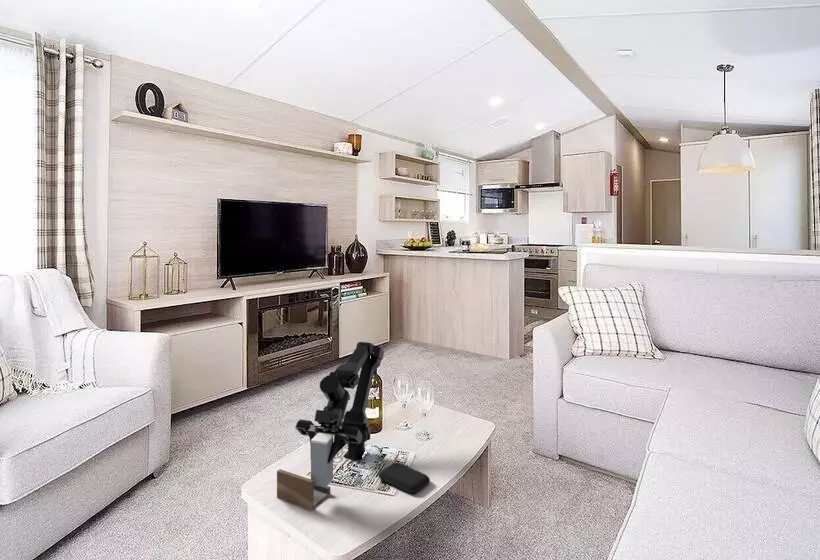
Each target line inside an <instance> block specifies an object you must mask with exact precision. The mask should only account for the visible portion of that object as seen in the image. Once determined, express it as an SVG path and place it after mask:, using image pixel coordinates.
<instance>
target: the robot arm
mask: <svg viewBox="0 0 820 560" xmlns="http://www.w3.org/2000/svg"><path fill="white" fill-rule="evenodd" d="M373 352H374V353H373ZM384 353H385V352H384V349H383V348H382V347H381V346H378V345H375V344H373V343H372V342H367V341H359V342H357V343H356V347H355V349H354V350H353V352H352V354H350V357H348V359H347V360H346V362H345V363H343V364H339V365H338V366H337V367H336V368H335V369H334V371H330V373H329V375H326V376H324V377H322V379H321V380H320V382H319V388H320V391H321V392H322V393H323V395H324V397H325V398H326V399H327V403H326V406H325V405H324V407H323V409H322V410H321V409H316V411H315V416H314V419H313V420H314V422H317V424H318V425H316V424H315V423H313V421H312V420H309V419H307V420H306V419H302V418H301V419H299V420H298V421H296V424H295V427H294V428H295V430H297V432H298V433H299V434H300V435H302V436H306V437H308V438H309V443H310V447H311V440H312V439H313V438H314V437H315V436H316V435H317V434H318V433H324V434H331V435H333V445H332V448H331V451H330V454H329V457H328V463H330V462H331V461H332V460H333V461H334V459H335V458H336V456H337V455H338V453H339V452H340V451H341V450H342V449H343V448H344V447H345V446H346V445H347V451H346V452H345V453H344V454H343V458H347V459H351V460H356V461H362V460H363V459H362V455H363V454H364V452H365V450H366V448H365V447H366V442H367V441H371V434H372V433H371V432H372V429H371V428H370V426H369V424H368V423H369V419H368V416H367V413H366V409H367V406H368V402H369V401H368V400H369V396H370V391H371V387H372V384H373V383H372V382H373V378H374V373H375V371H376V370H377V369H378V368H379V367H380V366H381V362H382V361H383V360H384V356H385V355H384ZM370 355H371V359H370ZM359 372H360V373H359ZM355 388H356V390H355V394H354V397H353V402H352V406H351V408H350V409H349V410H347V406H348V403H349V401H351V396H350V395H351V394H350V393H349V390H347V389H350V390H354V389H355ZM361 459H362V460H361Z"/></svg>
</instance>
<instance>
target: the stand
mask: <svg viewBox="0 0 820 560" xmlns="http://www.w3.org/2000/svg"><path fill="white" fill-rule="evenodd" d="M330 494H331V486H329V485H328V486H327V487H321V486H316V485H314V480H311V478H307V477H305V476H302V475H299V474H296V473H294V472H290V471H286V470H284V469H281V468H279V469H278V470H276V498H277V499H280V500H283V501H285V502H288V503H290V504H293V505H294V506H295V505H296V506H299V507H302V508H304V509H306V510H309V511H312V510H313V509H314V508H315V507H316V506H318V505H319V504H320V503H321V502H323V500H325V499H326V498H327V497H328V496H330Z"/></svg>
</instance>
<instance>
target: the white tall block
mask: <svg viewBox="0 0 820 560" xmlns="http://www.w3.org/2000/svg"><path fill="white" fill-rule="evenodd" d="M333 442H334V435H331V434H324V433H318V434H317V435H316V436H315V437H314V438H313V439H312V440H311V446H310V479H311V480H314V485H316V486H321V487H327V486H329V485H330V483H331V482H332V480H333V479H334V459H333V460H332V461H331V462H330V463H328V457H329V454H330V451H331V448H332V445H333Z"/></svg>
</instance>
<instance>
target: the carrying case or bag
mask: <svg viewBox="0 0 820 560" xmlns="http://www.w3.org/2000/svg"><path fill="white" fill-rule="evenodd" d="M377 476H378V479H379V480H381V481H382V482H384V483H385V484H388V485H390V486H392V487H394V486H395V487H394V488H396V489H399V490H401V491H403V492H404V493H407V494H409V495H415V494H417V493H418V492H420V491H421V490H422V489H424V488H425V487H426V486H428V485H429V484H430V482H431V480H430V477H429V476H428V475H427V474H425V473H424V472H420V471H419V470H416V469H414V468H411V467H409V465H408V464H401V463H399V462H393V463H391V464H390V465H389V466H387V467H385V468H383V469H382V470H380V471H379V473H378V475H377Z"/></svg>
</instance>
